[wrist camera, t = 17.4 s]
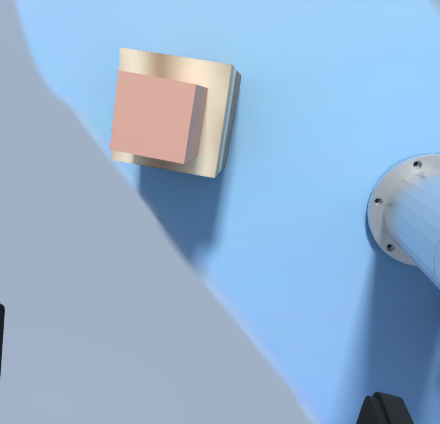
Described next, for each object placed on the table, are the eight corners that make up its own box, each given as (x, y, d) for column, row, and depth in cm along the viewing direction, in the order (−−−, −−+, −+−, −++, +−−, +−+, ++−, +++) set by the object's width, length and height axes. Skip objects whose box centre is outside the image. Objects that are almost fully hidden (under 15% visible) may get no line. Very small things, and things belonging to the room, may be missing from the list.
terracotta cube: (208, 88, 36) (196, 84, 30) (197, 155, 38) (183, 164, 32) (142, 76, 37) (118, 70, 31) (134, 143, 38) (109, 149, 32)
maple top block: (236, 70, 40) (231, 64, 35) (220, 170, 43) (214, 178, 38) (137, 55, 41) (120, 47, 36) (128, 154, 44) (110, 159, 39)
